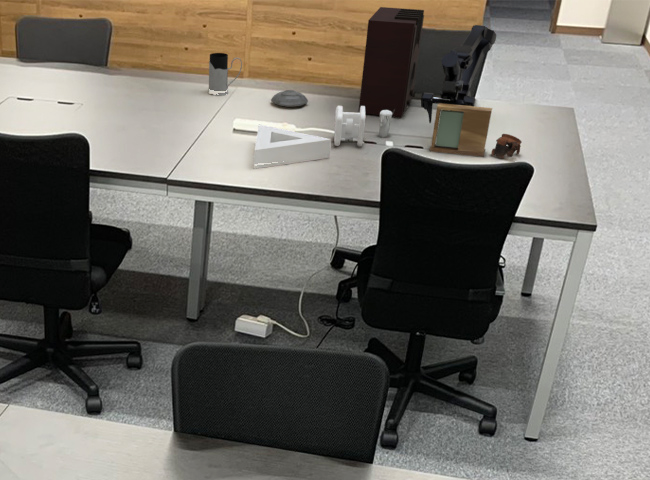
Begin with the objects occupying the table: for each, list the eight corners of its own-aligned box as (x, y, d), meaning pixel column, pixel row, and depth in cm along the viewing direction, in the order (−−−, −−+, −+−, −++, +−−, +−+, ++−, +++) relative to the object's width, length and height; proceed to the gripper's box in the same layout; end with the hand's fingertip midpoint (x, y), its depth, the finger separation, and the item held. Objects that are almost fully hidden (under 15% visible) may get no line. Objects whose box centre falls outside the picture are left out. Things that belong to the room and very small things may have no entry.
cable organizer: (362, 149, 350) (365, 116, 343) (332, 148, 351) (335, 115, 344) (361, 137, 362) (365, 104, 355) (333, 135, 363) (336, 103, 356)
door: (438, 139, 354) (443, 105, 347) (463, 142, 352) (469, 107, 344) (435, 145, 348) (440, 110, 341) (461, 148, 346) (467, 113, 339)
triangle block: (253, 168, 333) (254, 150, 329) (221, 147, 352) (221, 129, 348) (329, 157, 343) (331, 139, 339) (293, 137, 362) (295, 119, 358)
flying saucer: (315, 105, 395) (316, 91, 392) (286, 111, 389) (287, 97, 385) (291, 97, 405) (292, 83, 402) (263, 102, 399) (264, 88, 395)
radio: (358, 114, 385) (368, 17, 364) (370, 97, 406) (380, 4, 384) (405, 119, 381) (419, 21, 359) (415, 101, 401) (428, 7, 380)
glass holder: (206, 90, 413) (206, 52, 404) (239, 89, 415) (240, 51, 406) (208, 96, 406) (209, 57, 397) (242, 95, 408) (244, 56, 399)
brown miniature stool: (484, 154, 348) (495, 131, 346) (505, 165, 351) (516, 142, 349) (501, 155, 337) (512, 132, 335) (522, 166, 340) (534, 143, 338)
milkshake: (391, 138, 361) (395, 110, 355) (376, 137, 362) (380, 109, 356) (391, 134, 364) (395, 106, 358) (377, 133, 365) (380, 105, 359)
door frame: (431, 146, 353) (438, 102, 343) (485, 152, 348) (493, 107, 338) (429, 151, 349) (436, 106, 339) (483, 156, 344) (492, 111, 334)
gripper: (426, 68, 345) (416, 109, 344) (479, 73, 340) (470, 114, 339) (425, 86, 356) (416, 125, 354) (477, 91, 351) (469, 131, 349)
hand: (442, 123), depth 349 cm, fingers open, 9 cm apart
